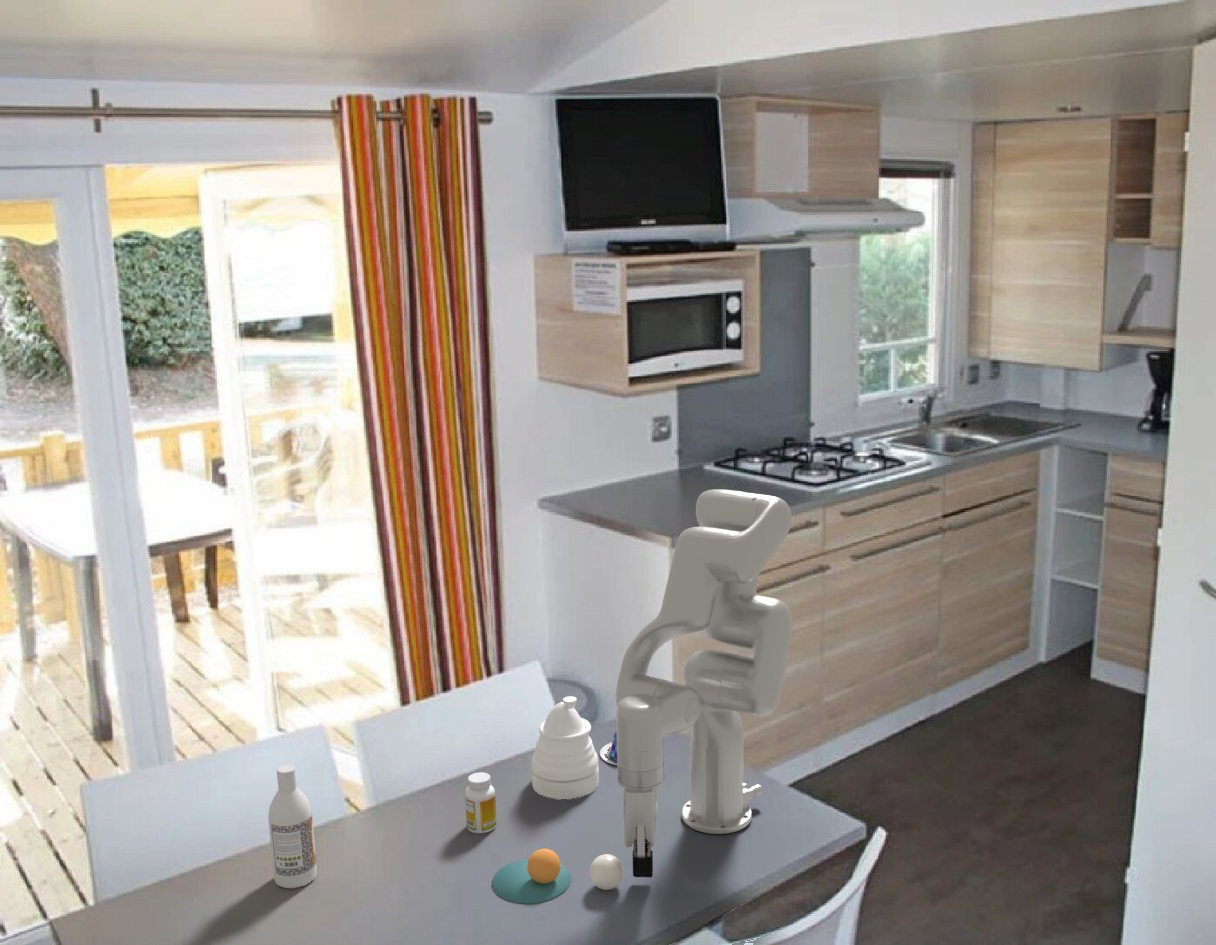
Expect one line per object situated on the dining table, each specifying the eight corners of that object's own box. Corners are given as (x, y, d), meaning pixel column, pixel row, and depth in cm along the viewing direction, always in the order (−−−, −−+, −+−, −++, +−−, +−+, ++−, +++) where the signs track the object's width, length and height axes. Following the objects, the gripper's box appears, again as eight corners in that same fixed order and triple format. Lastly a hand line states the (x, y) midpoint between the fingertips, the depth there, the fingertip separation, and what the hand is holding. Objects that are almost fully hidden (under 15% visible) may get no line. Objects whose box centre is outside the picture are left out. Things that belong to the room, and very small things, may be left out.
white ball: (604, 841, 195) (599, 865, 198) (586, 860, 191) (580, 884, 193) (632, 859, 193) (626, 883, 195) (614, 878, 188) (608, 902, 191)
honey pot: (612, 781, 229) (610, 694, 225) (565, 806, 220) (562, 716, 216) (565, 761, 237) (562, 677, 233) (518, 785, 228) (514, 698, 224)
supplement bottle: (499, 819, 216) (497, 770, 214) (493, 834, 211) (491, 784, 208) (470, 818, 216) (467, 769, 214) (463, 834, 211) (461, 784, 209)
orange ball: (561, 846, 198) (530, 856, 199) (550, 842, 194) (519, 852, 194) (568, 880, 196) (537, 889, 197) (557, 876, 191) (526, 886, 192)
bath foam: (321, 883, 197) (311, 772, 192) (279, 894, 194) (268, 782, 189) (312, 863, 203) (302, 755, 198) (271, 873, 200) (260, 764, 196)
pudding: (597, 744, 245) (596, 721, 244) (654, 740, 246) (654, 717, 245) (603, 771, 234) (602, 747, 232) (663, 767, 235) (662, 742, 234)
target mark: (542, 851, 205) (542, 850, 205) (586, 884, 195) (586, 883, 194) (477, 877, 197) (477, 876, 197) (519, 913, 187) (519, 912, 187)
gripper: (620, 750, 198) (622, 849, 202) (614, 794, 183) (617, 900, 187) (665, 750, 197) (666, 850, 201) (663, 794, 183) (665, 901, 187)
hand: (642, 874), depth 194 cm, fingers closed
